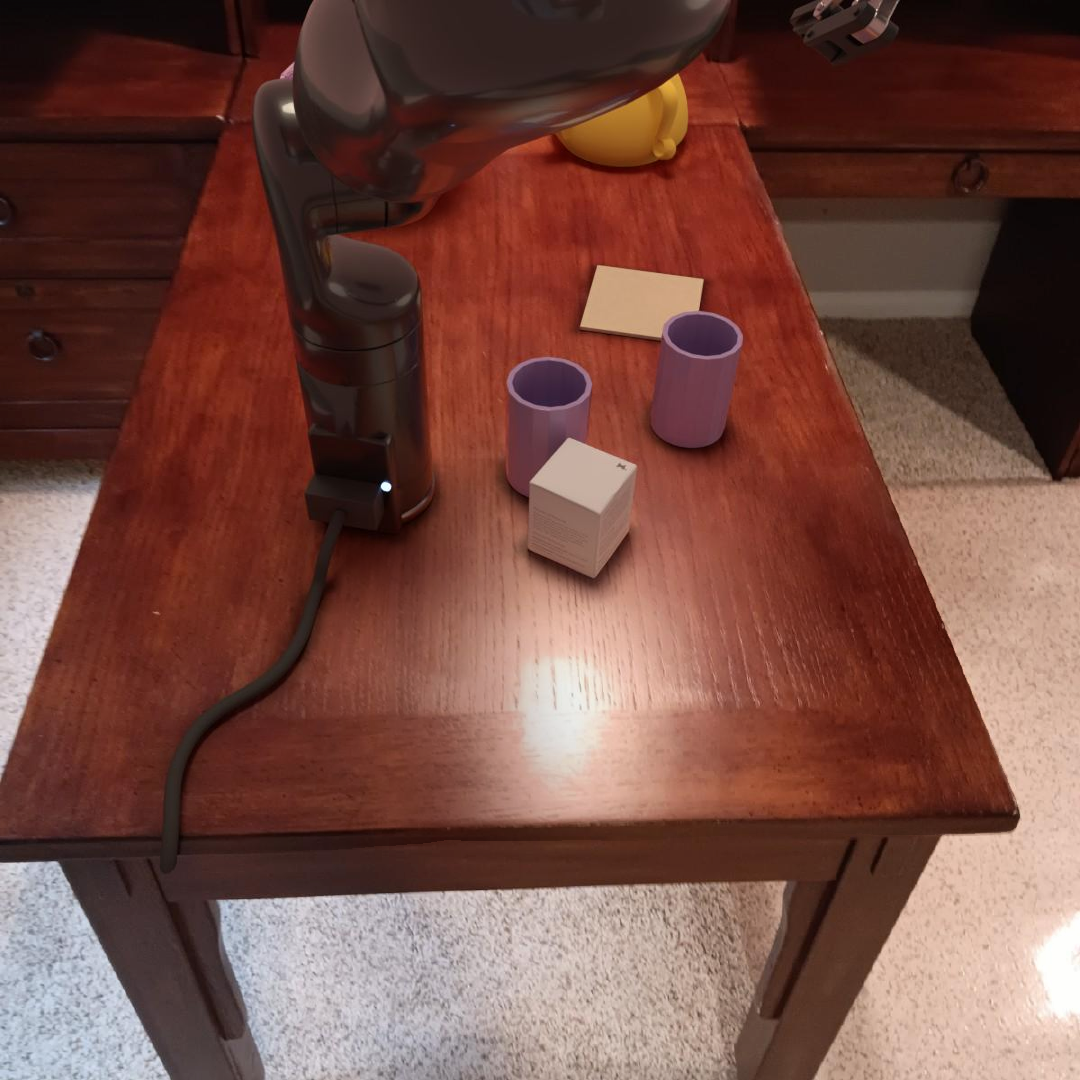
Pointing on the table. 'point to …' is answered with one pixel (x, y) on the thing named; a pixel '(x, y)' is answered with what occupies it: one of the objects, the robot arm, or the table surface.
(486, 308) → the table surface
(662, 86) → the teapot
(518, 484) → the lavender cup
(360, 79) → the robot arm
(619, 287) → the placemat
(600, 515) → the product box
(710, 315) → the lavender cup
